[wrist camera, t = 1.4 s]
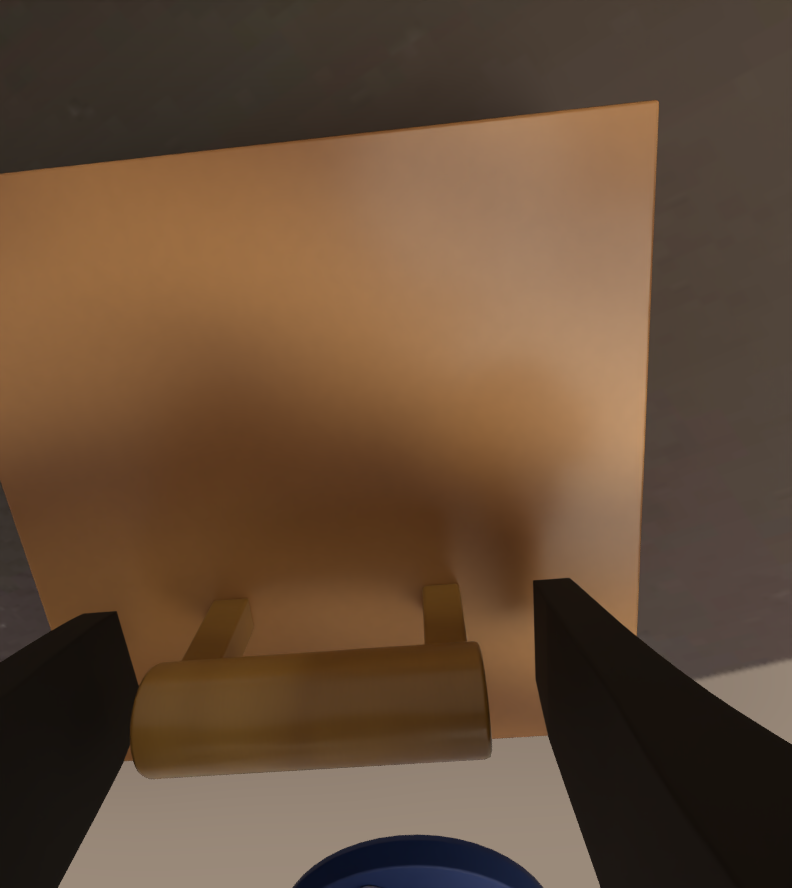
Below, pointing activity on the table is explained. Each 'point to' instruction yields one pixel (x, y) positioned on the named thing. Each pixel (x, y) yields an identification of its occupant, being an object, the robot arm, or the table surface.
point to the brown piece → (332, 424)
